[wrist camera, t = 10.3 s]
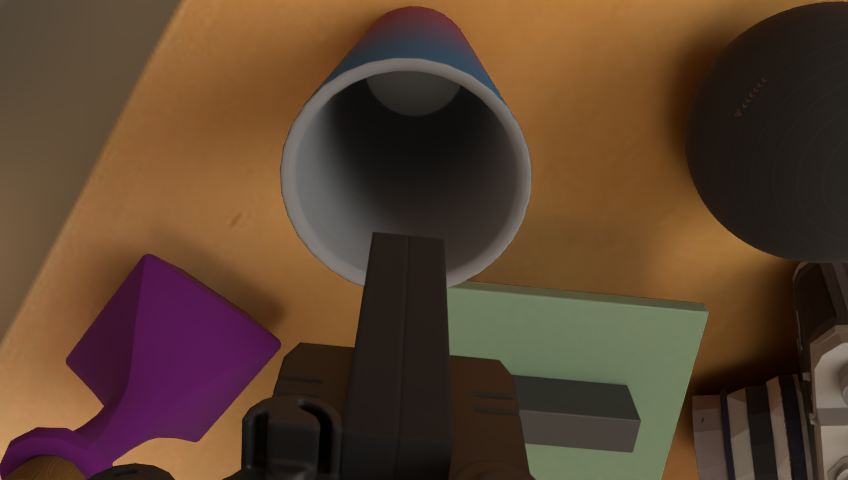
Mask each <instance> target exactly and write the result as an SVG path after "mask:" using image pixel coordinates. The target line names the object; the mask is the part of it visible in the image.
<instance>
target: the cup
mask: <svg viewBox="0 0 848 480" xmlns="http://www.w3.org/2000/svg"><path fill="white" fill-rule="evenodd" d="M280 177H281V193H282V197H283V200H284V204H285V208H286V211H287V215H288V217H289V219H290V221H291V223H292V225H293V227H294V229H295V231H296V233H297V235H298V236H299V238H300V239H301V240H302V242H303V243H304V244H305V245H306V247H307V248H308V249H309V251H310V252H311V253H312V254H313V255H314V256H315V257H316V258H317V259H318V260H320V261H321V262H322V263H323V264H324V265H325V266H326V267H327V268H329V269H330V270H331V271H333V272H335V273H336V274H338V275H340V276H341V277H343V278H345V279H346V280H348V281H350V282H353V283H355V284H358V285H361V286H363V287H364V284H365V278H366V271H367V265H368V258H369V252H370V246H371V239H372V233H373V232H380V233H390V234H400V235H409V236H419V237H429V238H439V239H445V260H446V282H447V288H448V287H451V286H454V285H457V284H460V283H462V282H464V281H466V280H467V279H469V278H471V277H473V276H475V275H476V274H478V273H480V272H481V271H483V270H484V269H485V268H486V267H487V266H489V265H490V264H491V263H492V262H493V261H495V260H496V259H497V258H498V257H499V256H500V255H501V254H502V252H503V251H504V250H505V249H506V247H507V246H508V245H509V244H510V242H511V241H512V240H513V239H514V237H515V235H516V233H517V231H518V229H519V227H520V225H521V223H522V221H523V220H524V217H525V213H526V210H527V206H528V203H529V199H530V193H531V180H532V171H531V163H530V156H529V150H528V147H527V144H526V141H525V138H524V136H523V133H522V130H521V127H520V126H519V124H518V123H517V121H516V119H515V118H514V116H513V114H512V113H511V111H510V110H509V108H508V106H507V105H506V103H505V101H504V100H503V98H502V97H501V95H500V93H499V92H498V90H497V88H496V87H495V85H494V84H493V82H492V80H491V79H490V77H489V75H488V74H487V72H486V71H485V69H484V67H483V66H482V64H481V62H480V61H479V59H478V58H477V56H476V54H475V53H474V51H473V49H472V48H471V46H470V45H469V43H468V41H467V40H466V38H465V36H464V35H463V33H462V32H461V30H460V29H459V27H458V26H457V25H456V24H455V23H454V22H453V21H452V20H451V19H449V18H448V17H446V16H445V15H444V14H442V13H440V12H437V11H435V10H433V9H429V8H424V7H405V8H399V9H396V10H394V11H391V12H389V13H387V14H385V15H384V16H382V17H381V18H379V19H378V20H377V21H376V22H375V23H374V24H373V25H372V26H371V27H370V28H369V29H368V31H367V32H366V33H365V34H364V35H363V36H362V38H361V39H360V40H359V41H358V42H357V43H356V45H355V46H354V47H353V48H352V49H351V50H350V52H349V53H348V54H347V55H346V56H345V57H344V59H343V60H342V61H341V62H340V63H339V64H338V66H337V67H336V68H335V69H334V70H333V71H332V73H331V74H330V75H329V76H328V77H327V78H326V80H325V81H324V82H323V83H322V84H321V85H320V87H319V88H318V89H317V90H316V91H315V92H314V94H313V95H312V96H311V97H310V98H309V99H308V101H307V102H306V103H305V104H304V106H303V108H302V109H301V111H300V112H299V114H298V115H297V117H296V118H295V120H294V122H293V123H292V125H291V128H290V130H289V133H288V136H287V138H286V141H285V144H284V146H283V153H282V160H281V166H280Z"/></svg>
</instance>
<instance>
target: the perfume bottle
mask: <svg viewBox="0 0 848 480" xmlns="http://www.w3.org/2000/svg"><path fill="white" fill-rule="evenodd" d="M280 348H281V342H280V340H279V339H278V338H277V337H275V336H274V335H273V334H272V333H270V332H269V331H268V330H267V329H266V328H264V327H263V326H262V325H261V324H259V323H258V322H257V321H256V320H255V319H253V318H252V317H251V316H250V315H248V314H247V313H246V312H245V311H243V310H242V309H240V308H239V307H237V306H236V305H234V304H233V303H231V302H230V301H228V300H227V299H225V298H224V297H222V296H221V295H219V294H218V293H217V292H215V291H214V290H212V289H211V288H209V287H208V286H206V285H205V284H203V283H202V282H200V281H199V280H197V279H196V278H194V277H193V276H191V275H190V274H188V273H187V272H185V271H184V270H182V269H180V268H178V267H176V266H174V265H172V264H170V263H168V262H166V261H164V260H162V259H160V258H158V257H156V256H154V255H152V254H146V255H144V256H143V257H142V258H141V259H140V261H139V262H138V263H137V265H136V266H135V267H134V269H133V270H132V271H131V273H130V274H129V275H128V277H127V278H126V279H125V281H124V282H123V283H122V285H121V286H120V287H119V289H118V290H117V291H116V293H115V294H114V295H113V297H112V298H111V299H110V301H109V302H108V303H107V305H106V306H105V307H104V309H103V310H102V311H101V313H100V314H99V315H98V317H97V318H96V319H95V321H94V322H93V323H92V325H91V326H90V327H89V329H88V330H87V331H86V333H85V334H84V335H83V337H82V338H81V339H80V341H79V342H78V343H77V345H76V346H75V347H74V349H73V350H72V351H71V353H70V354H69V355H68V357H67V358H66V364H67V365H68V366H69V367H70V369H71V370H72V371H73V372H74V373H75V374H76V375H77V376H78V377H79V378H80V379H81V380H82V381H83V382H84V383H85V384H86V385H87V386H88V387H89V388H90V389H91V390H92V391H93V393H94V394H95V395H96V396H97V398H98V399H99V400H100V401H101V403H102V404H103V405H104V407H103V408H102V410H101V411H100V412H99V413H98V415H96V416H95V417H94V418H92V419H91V420H90V421H89V422H87V423H86V424H85V425H83V426H82V427H80V428H78V429H76V430H74V431H72V430H70V429H67V428H44V427H37V428H35V429H33V430H31V431H29V432H27V433H25V434H23V435H21V436H19V437H17V438H15V439H13V440H12V441H10V444H9V446H8V448H7V450H6V452H5V455H4V457H3V459H2V461H1V463H0V475H1V479H2V480H87V479H89V478H90V477H91V476H93V475H94V474H96V473H98V472H101V471H103V470H106V469H108V468H111V467H113V465H112V463H113V462H114V461H115V460H117V459H118V458H119V457H121V456H122V455H124V454H125V453H127V452H128V451H129V450H131V449H133V448H135V447H137V446H138V445H140V444H142V443H144V442H146V441H147V440H151V439H154V438H178V439H183V440H187V441H192V442H197V441H199V440H200V439H201V438H202V437H203V436H204V435H205V433H206V432H207V431H208V430H209V429H210V428H211V427H212V425H213V424H214V423H215V422H216V421H217V420H218V419H219V417H220V416H221V415H222V414H223V413H224V412H225V411H226V409H227V408H228V407H229V406H230V405H231V404H232V403H233V401H234V400H235V399H236V398H237V397H238V396H239V395H240V393H241V392H242V391H243V390H244V389H245V388H246V387H247V385H248V384H249V383H250V382H251V381H252V380H253V379H254V377H255V376H256V375H257V374H258V373H259V372H260V371H261V370H262V368H263V367H264V366H265V365H266V364H267V363H268V362H269V360H270V359H271V358H272V357H273V356H274V355H275V354H276V352H277V351H278V350H279V349H280Z"/></svg>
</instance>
